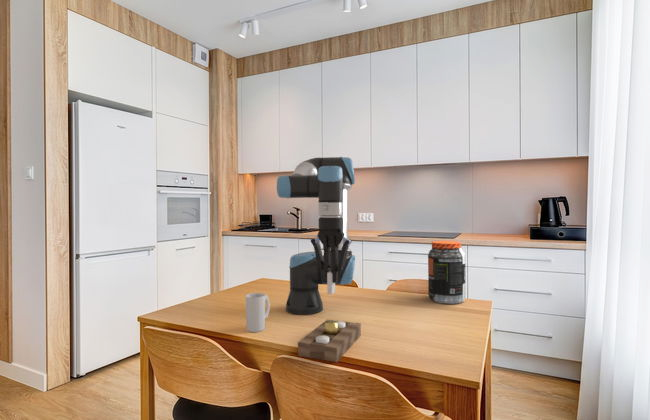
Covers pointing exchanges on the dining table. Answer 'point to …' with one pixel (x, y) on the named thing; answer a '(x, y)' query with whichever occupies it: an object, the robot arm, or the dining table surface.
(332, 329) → the plug brass
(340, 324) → the grey plug
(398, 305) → the dining table surface
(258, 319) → the mug
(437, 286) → the supplement tub
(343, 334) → the socket block
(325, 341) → the grey plug
